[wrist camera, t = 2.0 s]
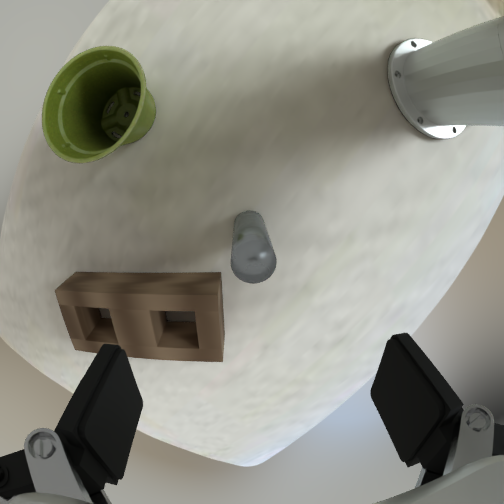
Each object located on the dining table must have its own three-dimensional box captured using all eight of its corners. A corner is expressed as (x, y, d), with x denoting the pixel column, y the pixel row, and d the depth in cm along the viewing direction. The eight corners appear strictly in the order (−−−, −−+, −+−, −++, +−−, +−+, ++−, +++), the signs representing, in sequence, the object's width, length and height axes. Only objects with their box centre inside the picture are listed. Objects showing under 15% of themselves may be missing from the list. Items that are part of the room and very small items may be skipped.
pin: (264, 210, 27) (277, 240, 18) (264, 239, 28) (275, 282, 19) (233, 210, 27) (230, 241, 18) (234, 240, 28) (231, 283, 19)
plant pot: (115, 62, 21) (75, 36, 13) (190, 89, 23) (168, 62, 15) (77, 140, 24) (27, 141, 16) (146, 173, 26) (109, 182, 18)
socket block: (221, 272, 29) (217, 294, 25) (224, 334, 32) (222, 361, 27) (75, 272, 29) (54, 290, 24) (91, 327, 32) (75, 349, 27)
